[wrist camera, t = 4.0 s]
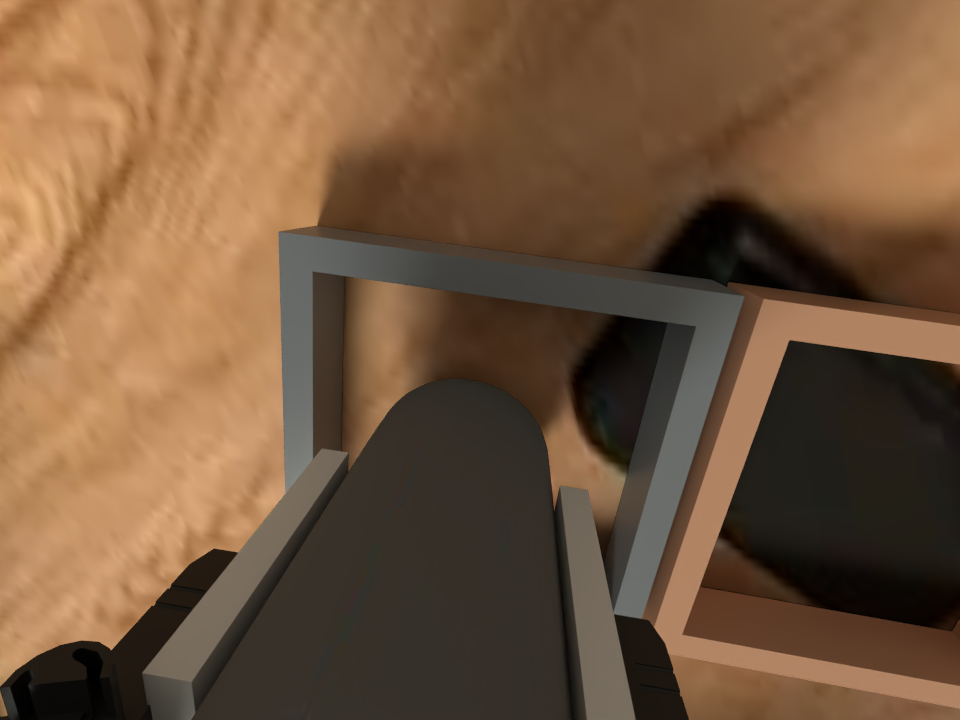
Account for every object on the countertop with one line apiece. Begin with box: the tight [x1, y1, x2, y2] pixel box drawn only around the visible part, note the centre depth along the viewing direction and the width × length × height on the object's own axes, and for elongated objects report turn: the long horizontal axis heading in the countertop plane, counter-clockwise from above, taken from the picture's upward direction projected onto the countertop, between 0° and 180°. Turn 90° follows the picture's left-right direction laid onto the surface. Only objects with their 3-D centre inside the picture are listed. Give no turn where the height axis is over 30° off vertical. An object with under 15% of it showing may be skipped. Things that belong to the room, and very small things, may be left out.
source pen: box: [279, 226, 745, 619], centre depth 17 cm, size 13×13×2 cm
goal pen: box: [642, 282, 960, 709], centre depth 16 cm, size 13×13×2 cm
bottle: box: [191, 379, 572, 720], centre depth 9 cm, size 6×6×15 cm
